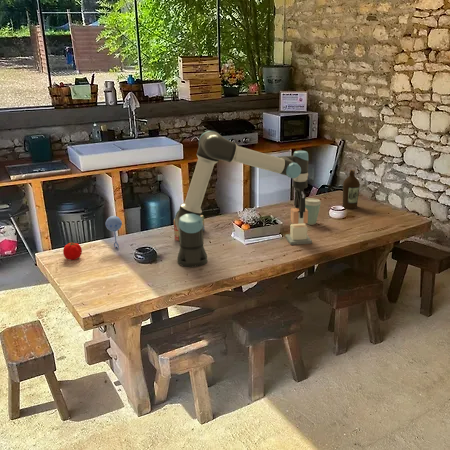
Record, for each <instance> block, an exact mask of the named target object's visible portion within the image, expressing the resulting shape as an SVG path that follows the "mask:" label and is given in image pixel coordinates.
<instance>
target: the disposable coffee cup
mask: <svg viewBox="0 0 450 450" xmlns="http://www.w3.org/2000/svg"><path fill="white" fill-rule="evenodd" d="M321 204H322V201H321V199H318V198H309V197H308V198H305V208H306V209H307V210H308V223H305V225H316V223H317V221H318V217H319V213H320V208H321Z"/></svg>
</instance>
